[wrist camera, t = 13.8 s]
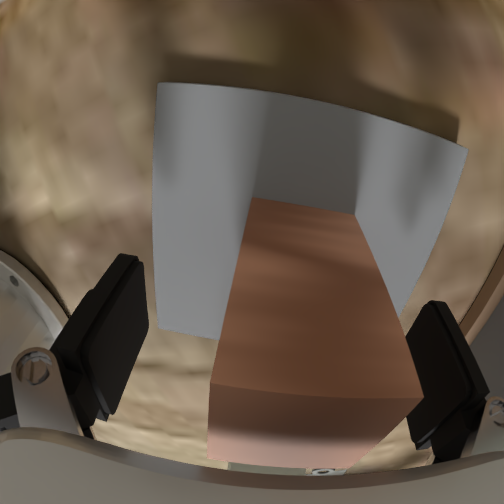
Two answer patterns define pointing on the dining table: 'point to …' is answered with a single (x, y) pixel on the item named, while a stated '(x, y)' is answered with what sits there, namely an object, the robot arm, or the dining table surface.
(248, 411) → the terracotta block
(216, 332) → the mat
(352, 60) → the dining table surface
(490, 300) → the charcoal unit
